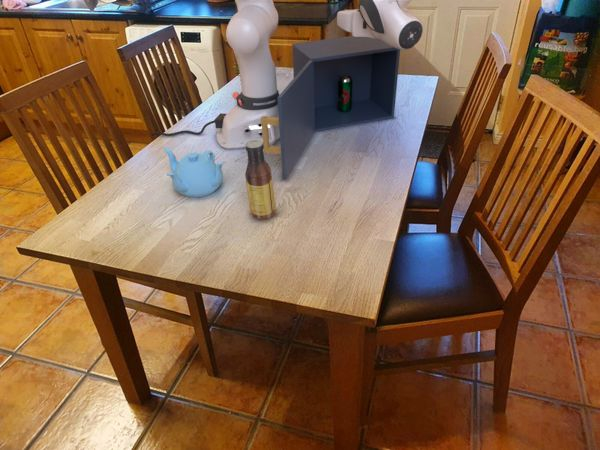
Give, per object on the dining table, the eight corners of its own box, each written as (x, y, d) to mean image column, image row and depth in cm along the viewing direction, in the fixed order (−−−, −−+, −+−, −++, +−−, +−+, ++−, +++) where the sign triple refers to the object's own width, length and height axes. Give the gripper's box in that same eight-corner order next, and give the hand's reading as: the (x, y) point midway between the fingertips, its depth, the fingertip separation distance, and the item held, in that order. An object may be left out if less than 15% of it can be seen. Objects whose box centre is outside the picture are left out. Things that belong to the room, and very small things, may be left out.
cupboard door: (263, 177, 129) (255, 95, 115) (294, 131, 152) (291, 59, 138) (286, 179, 127) (281, 97, 113) (314, 133, 150) (312, 60, 136)
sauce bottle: (262, 204, 118) (255, 133, 106) (281, 212, 115) (275, 140, 103) (244, 215, 114) (235, 143, 102) (263, 224, 111) (255, 151, 99)
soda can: (354, 111, 161) (355, 77, 154) (341, 114, 160) (341, 80, 153) (347, 106, 165) (348, 73, 158) (334, 109, 164) (335, 75, 156)
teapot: (222, 170, 133) (217, 138, 127) (230, 197, 121) (225, 163, 115) (171, 179, 130) (163, 146, 124) (174, 207, 118) (166, 173, 112)
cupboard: (393, 118, 158) (400, 46, 144) (312, 133, 151) (310, 58, 137) (371, 100, 172) (375, 32, 157) (295, 112, 165) (292, 43, 150)
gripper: (417, 5, 126) (394, -4, 136) (349, 12, 121) (330, 2, 132) (414, 29, 130) (392, 18, 140) (348, 37, 125) (329, 25, 135)
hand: (361, 11), depth 136 cm, fingers open, 8 cm apart
